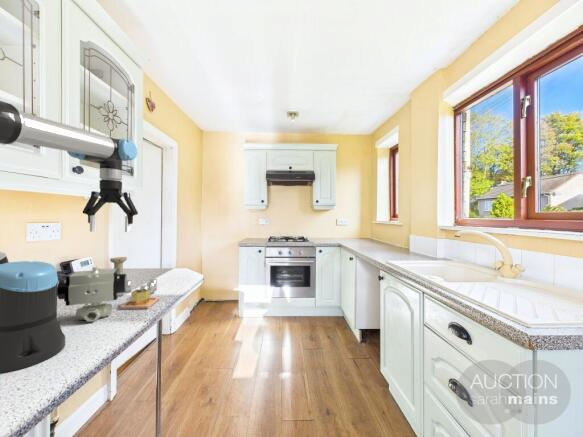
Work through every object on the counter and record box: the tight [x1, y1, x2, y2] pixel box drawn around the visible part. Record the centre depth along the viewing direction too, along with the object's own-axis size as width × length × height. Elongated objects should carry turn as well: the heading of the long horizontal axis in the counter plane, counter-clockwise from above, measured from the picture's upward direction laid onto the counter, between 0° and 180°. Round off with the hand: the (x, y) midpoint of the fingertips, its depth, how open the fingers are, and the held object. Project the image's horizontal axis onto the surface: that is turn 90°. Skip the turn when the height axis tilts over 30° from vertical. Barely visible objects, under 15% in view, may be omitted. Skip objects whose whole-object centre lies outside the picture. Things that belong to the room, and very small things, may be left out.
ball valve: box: [57, 266, 128, 323], centre depth 85 cm, size 18×8×18 cm, turn 118°
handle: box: [110, 256, 128, 274], centre depth 117 cm, size 5×6×15 cm
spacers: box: [118, 278, 158, 298], centre depth 111 cm, size 15×15×5 cm
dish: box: [119, 296, 160, 310], centre depth 99 cm, size 10×10×1 cm
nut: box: [130, 289, 151, 306], centre depth 99 cm, size 6×6×5 cm
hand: (110, 231), depth 102 cm, fingers open, 13 cm apart
